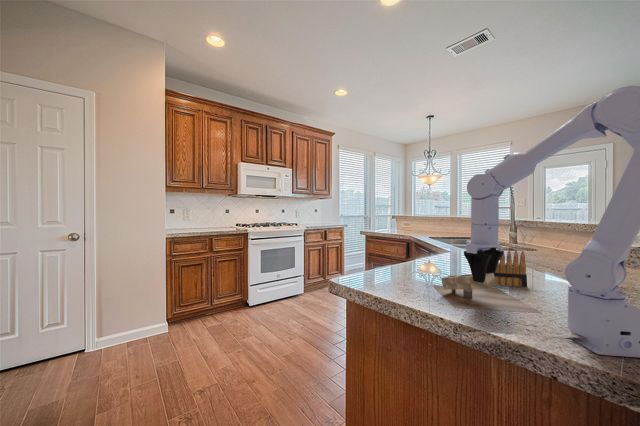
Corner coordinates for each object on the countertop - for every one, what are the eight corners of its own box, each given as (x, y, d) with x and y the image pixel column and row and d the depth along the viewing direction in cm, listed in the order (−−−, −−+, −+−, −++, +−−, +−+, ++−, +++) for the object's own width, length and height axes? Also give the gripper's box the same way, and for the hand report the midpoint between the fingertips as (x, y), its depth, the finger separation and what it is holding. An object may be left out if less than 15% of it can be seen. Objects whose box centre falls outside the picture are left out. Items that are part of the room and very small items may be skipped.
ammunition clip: (486, 289, 79) (487, 249, 79) (484, 287, 81) (485, 249, 81) (527, 291, 76) (528, 251, 76) (524, 290, 78) (524, 250, 78)
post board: (541, 319, 57) (542, 296, 57) (454, 314, 59) (454, 292, 59) (497, 293, 75) (497, 276, 75) (431, 290, 77) (432, 273, 77)
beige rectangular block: (496, 285, 63) (493, 272, 64) (488, 288, 60) (485, 275, 61) (452, 286, 72) (450, 275, 72) (443, 289, 69) (441, 278, 69)
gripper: (479, 223, 71) (478, 272, 71) (453, 224, 62) (452, 280, 62) (509, 224, 65) (508, 278, 65) (486, 226, 56) (485, 288, 57)
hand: (483, 279), depth 63 cm, fingers closed on beige rectangular block, 5 cm apart
